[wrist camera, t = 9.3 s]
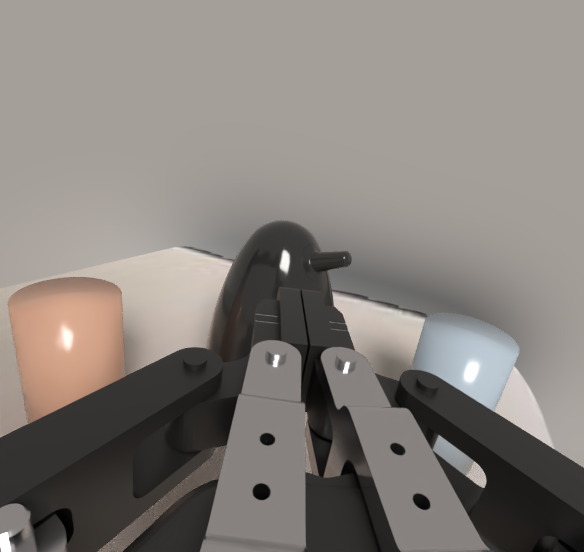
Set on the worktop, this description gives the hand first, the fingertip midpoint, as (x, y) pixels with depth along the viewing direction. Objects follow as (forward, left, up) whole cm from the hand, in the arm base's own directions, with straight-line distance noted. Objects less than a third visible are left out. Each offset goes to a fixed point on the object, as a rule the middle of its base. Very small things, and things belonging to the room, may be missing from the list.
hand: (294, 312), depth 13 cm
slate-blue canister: (+1, +16, -15) cm, 22 cm away
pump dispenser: (-10, +9, -16) cm, 21 cm away
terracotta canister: (-16, -4, -15) cm, 22 cm away
